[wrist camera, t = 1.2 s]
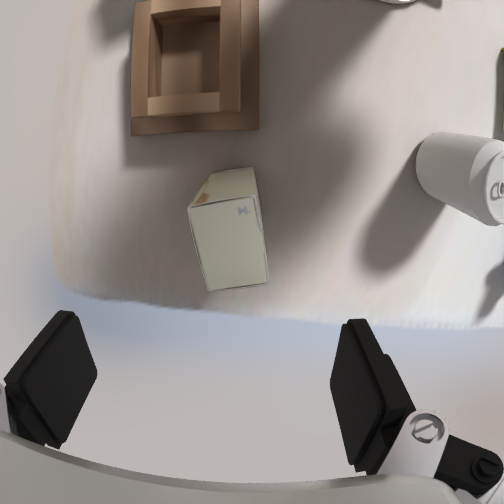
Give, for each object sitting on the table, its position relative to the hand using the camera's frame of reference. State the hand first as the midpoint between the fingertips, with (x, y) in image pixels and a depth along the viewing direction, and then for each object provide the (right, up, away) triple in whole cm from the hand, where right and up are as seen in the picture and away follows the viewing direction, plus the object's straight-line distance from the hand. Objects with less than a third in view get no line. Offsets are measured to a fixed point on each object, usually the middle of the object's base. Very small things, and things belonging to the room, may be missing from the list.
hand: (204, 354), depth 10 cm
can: (+22, +13, +19) cm, 32 cm away
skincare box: (0, +9, +21) cm, 22 cm away
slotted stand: (-4, +21, +15) cm, 26 cm away
